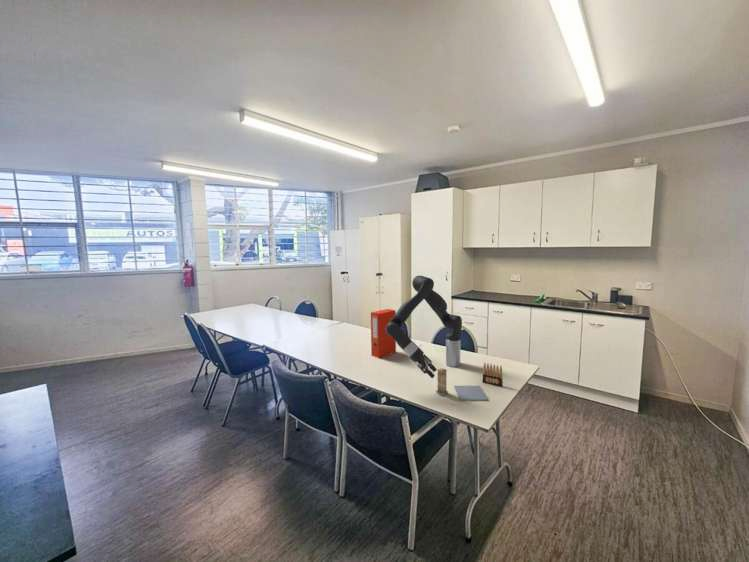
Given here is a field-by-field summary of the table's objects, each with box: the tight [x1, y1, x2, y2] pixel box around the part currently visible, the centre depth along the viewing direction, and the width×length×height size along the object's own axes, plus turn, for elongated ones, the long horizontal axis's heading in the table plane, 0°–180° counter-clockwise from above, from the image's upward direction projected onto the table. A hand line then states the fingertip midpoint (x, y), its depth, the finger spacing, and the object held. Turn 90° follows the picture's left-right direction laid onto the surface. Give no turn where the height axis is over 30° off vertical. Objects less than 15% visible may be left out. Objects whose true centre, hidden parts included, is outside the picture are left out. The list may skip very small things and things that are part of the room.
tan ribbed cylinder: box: [435, 367, 449, 397], centre depth 169 cm, size 6×6×13 cm
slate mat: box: [453, 385, 489, 402], centre depth 169 cm, size 16×14×1 cm
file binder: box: [370, 308, 397, 359], centre depth 231 cm, size 8×17×32 cm, turn 132°
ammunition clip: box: [482, 362, 504, 388], centre depth 179 cm, size 11×2×12 cm, turn 54°
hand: (434, 373), depth 170 cm, fingers open, 8 cm apart
